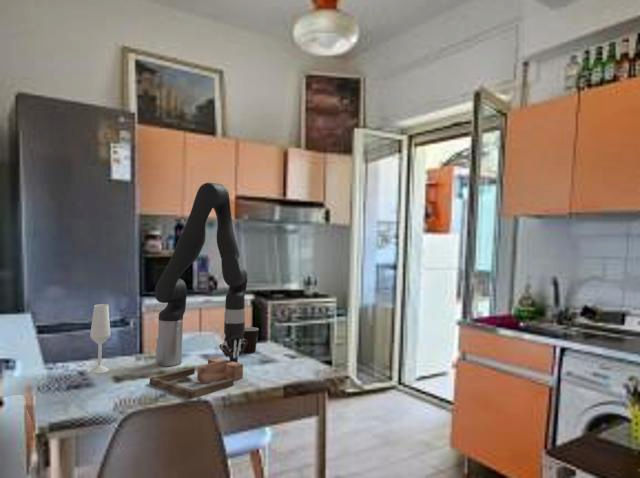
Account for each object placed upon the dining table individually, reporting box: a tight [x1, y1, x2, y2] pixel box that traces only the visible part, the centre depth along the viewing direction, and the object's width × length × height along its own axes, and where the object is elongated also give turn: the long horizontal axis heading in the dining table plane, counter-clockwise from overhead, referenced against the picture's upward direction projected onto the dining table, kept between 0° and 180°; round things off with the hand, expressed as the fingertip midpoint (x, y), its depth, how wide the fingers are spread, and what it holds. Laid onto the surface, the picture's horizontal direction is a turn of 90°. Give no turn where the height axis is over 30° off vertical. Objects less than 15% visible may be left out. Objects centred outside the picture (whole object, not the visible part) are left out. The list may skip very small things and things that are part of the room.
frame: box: [149, 367, 234, 399], centre depth 156 cm, size 22×18×2 cm
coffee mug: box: [242, 326, 259, 354], centre depth 206 cm, size 12×9×10 cm
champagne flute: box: [88, 303, 111, 374], centre depth 170 cm, size 7×7×24 cm
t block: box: [196, 357, 244, 384], centre depth 164 cm, size 14×13×5 cm
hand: (233, 367), depth 172 cm, fingers closed
